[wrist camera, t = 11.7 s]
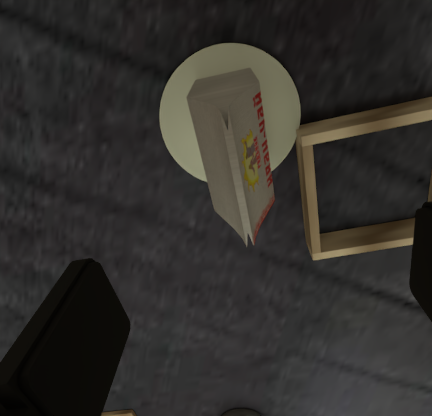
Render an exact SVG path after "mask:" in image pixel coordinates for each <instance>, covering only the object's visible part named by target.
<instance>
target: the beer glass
mask: <svg viewBox="0 0 432 416" xmlns="http://www.w3.org/2000/svg"><path fill="white" fill-rule="evenodd" d="M222 416H261V415H260V414H259V413H258V412H256V411H254V410H251V409H245V408H238V409H232V410H229V411H227V412H225V413H224V414H223V415H222Z"/></svg>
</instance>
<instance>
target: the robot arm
mask: <svg viewBox="0 0 432 416" xmlns="http://www.w3.org/2000/svg"><path fill="white" fill-rule="evenodd" d="M409 283H410V289H411V292H412V294H413V296H414V297H415V299H416V300H417V301H418V303H419V304H420V306H421V307H422V309H423V310H424V311H425V313H426V314H427V316H428V317H429V319H430V320H431V321H432V201H429V202H425V203H424V204H423V205H422V208H420V209H417V211H416V215H415V226H414V237H413V248H412V259H411V270H410V281H409ZM129 332H130V321H129V318H128V316H127V314H126V312H125V311H124V309H123V307H122V305H121V303H120V301H119V299H118V297H117V295H116V293H115V291H114V289H113V287H112V285H111V284H110V282H109V280H108V278H107V276H106V274H105V272H104V270H103V268H102V266H101V264H100V263H99V262H95V261H94V260H93V259H91V258H88V259H82V260H76V261H72V262H71V263H70V264H69V266H68V267H67V268H66V270H65V271H64V273H63V274H62V276H61V277H60V278H59V280H58V281H57V283H56V284H55V285H54V287H53V288H52V290H51V291H50V293H49V294H48V295H47V297H46V298H45V300H44V301H43V303H42V304H41V305H40V307H39V308H38V310H37V311H36V313H35V314H34V315H33V317H32V318H31V320H30V321H29V322H28V324H27V325H26V327H25V328H24V330H23V331H22V332H21V334H20V335H19V337H18V338H17V340H16V341H15V342H14V344H13V345H12V347H11V348H10V349H9V351H8V352H7V354H6V355H5V357H4V358H3V359H2V361H1V362H0V416H101V414H102V411H103V408H104V405H105V402H106V400H107V397H108V394H109V391H110V388H111V385H112V382H113V379H114V376H115V373H116V370H117V367H118V364H119V361H120V359H121V356H122V353H123V350H124V347H125V344H126V341H127V338H128V335H129Z"/></svg>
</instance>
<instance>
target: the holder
mask: <svg viewBox="0 0 432 416" xmlns="http://www.w3.org/2000/svg"><path fill="white" fill-rule="evenodd" d="M428 120H432V97H427V98H423V99H418V100H414V101H409V102H404V103H400V104H395V105H391V106H386V107H381V108H377V109H372V110H368V111H363V112H358V113H354V114H349V115H345V116H340V117H336V118H331V119H326V120H322V121H317V122H313V123H308V124H303V125H300V126H299V129H297V130H296V134H297V137H296V140H295V142H296V151H297V161H298V170H299V180H300V189H301V199H302V208H303V218H304V227H305V236H306V243H307V246H308V249H309V251H310V254H311V257H312V259H313V260H319V259H325V258H331V257H338V256H344V255H350V254H356V253H363V252H369V251H375V250H381V249H388V248H394V247H400V246H406V245H413V237H414V226H415V218H411V219H405V220H399V221H393V222H387V223H381V224H376V225H370V226H364V227H358V228H352V229H346V230H340V231H335V232H329V233H323V234H319V221H318V208H317V195H316V182H315V170H314V157H313V144H318V143H323V142H328V141H332V140H337V139H342V138H347V137H352V136H356V135H361V134H366V133H371V132H376V131H380V130H385V129H390V128H395V127H400V126H404V125H409V124H414V123H419V122H424V121H428ZM429 201H432V171H431V179H430V187H429V195H428V202H429Z"/></svg>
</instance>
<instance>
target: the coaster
mask: <svg viewBox="0 0 432 416" xmlns="http://www.w3.org/2000/svg"><path fill="white" fill-rule="evenodd" d="M245 68H251V69H252V71H253V73H254V74H255V76H256V77H257V79H258V80H259V83H260V91H261V98H262V106H263V113H264V121H265V128H266V136H267V144H268V151H269V159H270V166H271V171H273V170H274V169H275V168H276V167H277V166H278V165H279V164H280V163H281V162H282V161H283V160H284V159H285V158H286V156H287V155H288V153H289V152H290V150H291V148H292V146H293V144H294V142H295V140H296V137H297V134H296V130H297V129H299V126H300V118H301V110H300V101H299V96H298V93H297V89H296V87H295V84H294V82H293V80H292V78H291V77H290V75H289V74H288V72H287V71H286V69H285V68H284V67H283V66H282V65H281V64H280V63H279V62H278V61H277V60H276V59H275V58H273V57H272V56H271V55H269V54H267V53H266V52H264V51H263V50H260V49H258V48H256V47H254V46H250V45H246V44H241V43H221V44H215V45H212V46H209V47H206V48H203V49H201V50H199V51H198V52H196V53H194V54H193V55H191V56H190V57H188V58H187V59H186V60H185V61H184V62H183V63H182V64H181V65H180V66H179V67H178V68H177V69H176V70H175V72H174V73H173V74H172V76H171V77H170V79H169V81H168V82H167V85H166V87H165V89H164V92H163V95H162V99H161V104H160V116H159V120H160V128H161V132H162V136H163V139H164V142H165V144H166V147H167V148H168V150H169V152H170V154H171V155H172V157H173V158H174V159H175V161H176V162H177V163H178V164H179V165H180V166H181V167H182V168H183V169H184V170H186V171H187V172H188V173H190V174H191V175H193V176H194V177H196V178H198V179H200V180H203V181H206V182H207V178H206V174H205V170H204V166H203V162H202V158H201V154H200V150H199V146H198V142H197V138H196V134H195V130H194V126H193V122H192V118H191V114H190V110H189V106H188V102H187V98H186V97H187V95H188V93H189V91H190V89H191V87H192V85H193V84H194V82H195V80H197V79H201V78H205V77H210V76H214V75H219V74H223V73H228V72H232V71H237V70H241V69H245Z"/></svg>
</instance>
